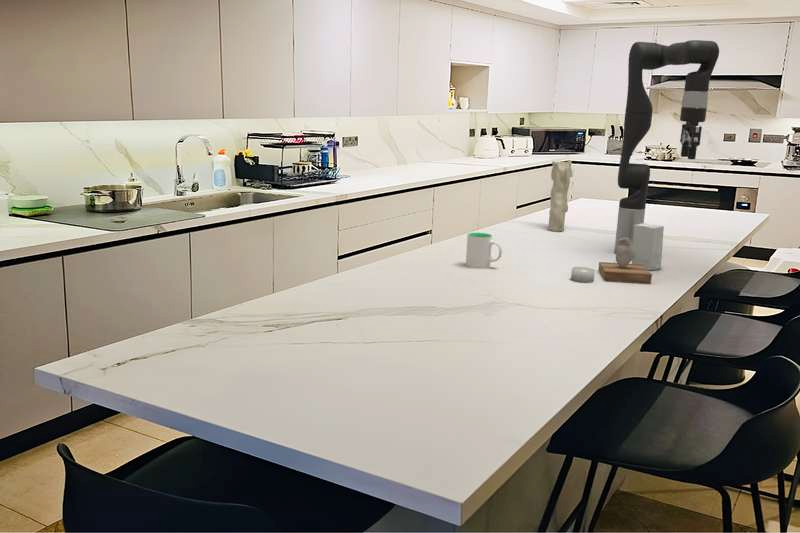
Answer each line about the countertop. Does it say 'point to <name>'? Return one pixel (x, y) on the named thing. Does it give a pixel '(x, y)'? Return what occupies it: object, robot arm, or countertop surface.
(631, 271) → the walnut block
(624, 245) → the grey rock
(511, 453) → the countertop surface
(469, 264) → the mug
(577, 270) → the pale grey round piece
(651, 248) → the skincare box
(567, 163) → the beige tall lumpy column
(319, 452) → the countertop surface
